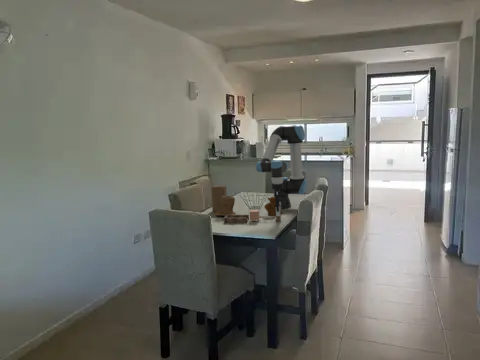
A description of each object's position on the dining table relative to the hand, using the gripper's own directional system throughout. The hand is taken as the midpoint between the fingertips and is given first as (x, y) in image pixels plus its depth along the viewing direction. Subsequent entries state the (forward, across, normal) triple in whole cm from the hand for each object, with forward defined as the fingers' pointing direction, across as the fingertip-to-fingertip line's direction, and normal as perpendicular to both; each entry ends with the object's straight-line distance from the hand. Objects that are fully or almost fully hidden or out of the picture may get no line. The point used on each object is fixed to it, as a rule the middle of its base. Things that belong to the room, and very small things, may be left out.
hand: (278, 213), depth 275 cm
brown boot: (+5, -18, -40) cm, 44 cm away
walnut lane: (+5, 0, -29) cm, 30 cm away
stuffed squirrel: (+6, -18, -5) cm, 19 cm away
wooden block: (+6, -34, -48) cm, 60 cm away
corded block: (+5, +1, -9) cm, 10 cm away
